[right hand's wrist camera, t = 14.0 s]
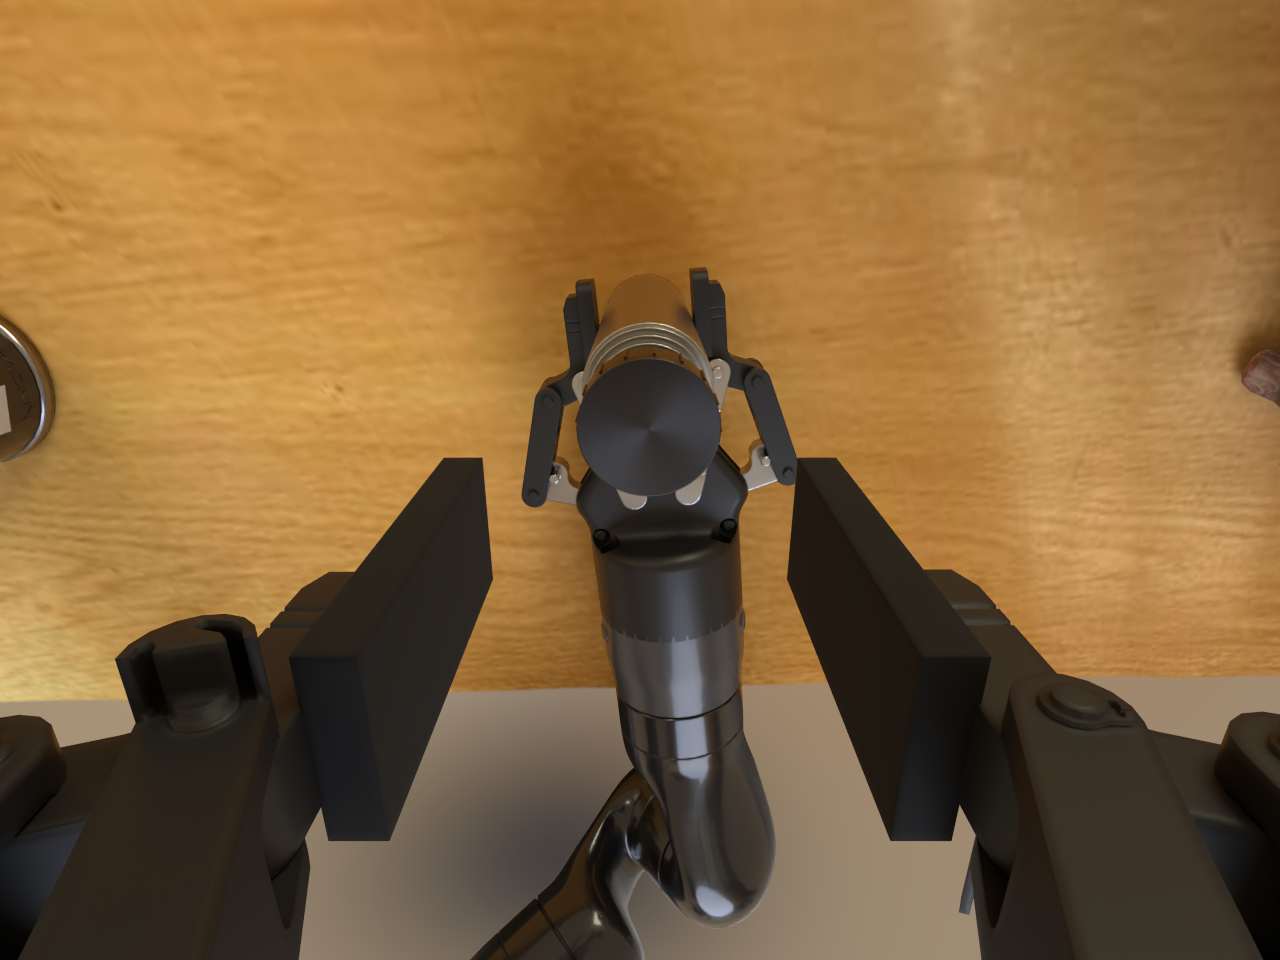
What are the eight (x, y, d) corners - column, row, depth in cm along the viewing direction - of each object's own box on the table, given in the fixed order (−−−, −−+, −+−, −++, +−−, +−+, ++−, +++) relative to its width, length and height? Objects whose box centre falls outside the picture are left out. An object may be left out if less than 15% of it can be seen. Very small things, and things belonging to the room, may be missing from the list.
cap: (659, 502, 21) (660, 523, 20) (553, 426, 21) (546, 442, 19) (745, 402, 20) (753, 417, 19) (636, 317, 19) (635, 326, 18)
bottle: (653, 372, 39) (661, 526, 21) (590, 323, 38) (538, 439, 20) (703, 308, 38) (760, 412, 19) (639, 256, 37) (633, 312, 18)
